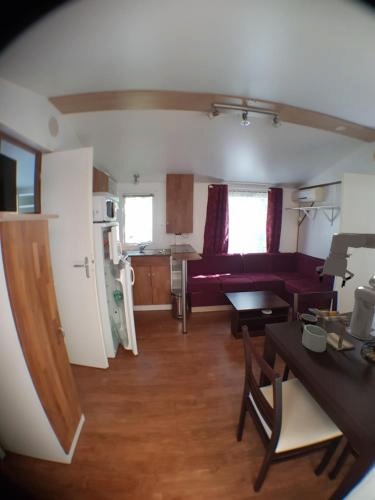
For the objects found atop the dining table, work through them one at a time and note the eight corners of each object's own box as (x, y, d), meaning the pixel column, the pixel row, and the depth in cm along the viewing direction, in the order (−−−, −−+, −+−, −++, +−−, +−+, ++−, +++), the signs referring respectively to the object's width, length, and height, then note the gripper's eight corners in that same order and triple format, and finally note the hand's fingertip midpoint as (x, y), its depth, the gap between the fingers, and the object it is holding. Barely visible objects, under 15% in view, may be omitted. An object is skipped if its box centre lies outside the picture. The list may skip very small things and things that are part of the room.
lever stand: (332, 333, 118) (337, 309, 115) (355, 348, 105) (361, 321, 102) (317, 336, 115) (321, 311, 112) (338, 351, 102) (343, 323, 99)
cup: (312, 338, 113) (315, 323, 111) (329, 350, 103) (332, 335, 101) (297, 340, 111) (299, 325, 109) (313, 353, 100) (316, 337, 98)
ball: (331, 315, 108) (333, 310, 107) (337, 319, 104) (339, 313, 104) (327, 315, 107) (328, 310, 106) (332, 319, 104) (334, 313, 103)
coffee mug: (317, 336, 114) (320, 322, 112) (302, 334, 116) (304, 320, 114) (309, 326, 126) (311, 312, 124) (295, 324, 127) (297, 310, 125)
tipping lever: (328, 315, 118) (331, 306, 117) (351, 328, 104) (354, 318, 103) (306, 315, 114) (309, 306, 113) (327, 329, 100) (330, 318, 99)
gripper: (357, 257, 101) (351, 287, 104) (319, 252, 112) (314, 279, 115) (358, 259, 95) (351, 291, 98) (317, 253, 106) (312, 282, 109)
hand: (331, 284), depth 106 cm, fingers open, 9 cm apart
